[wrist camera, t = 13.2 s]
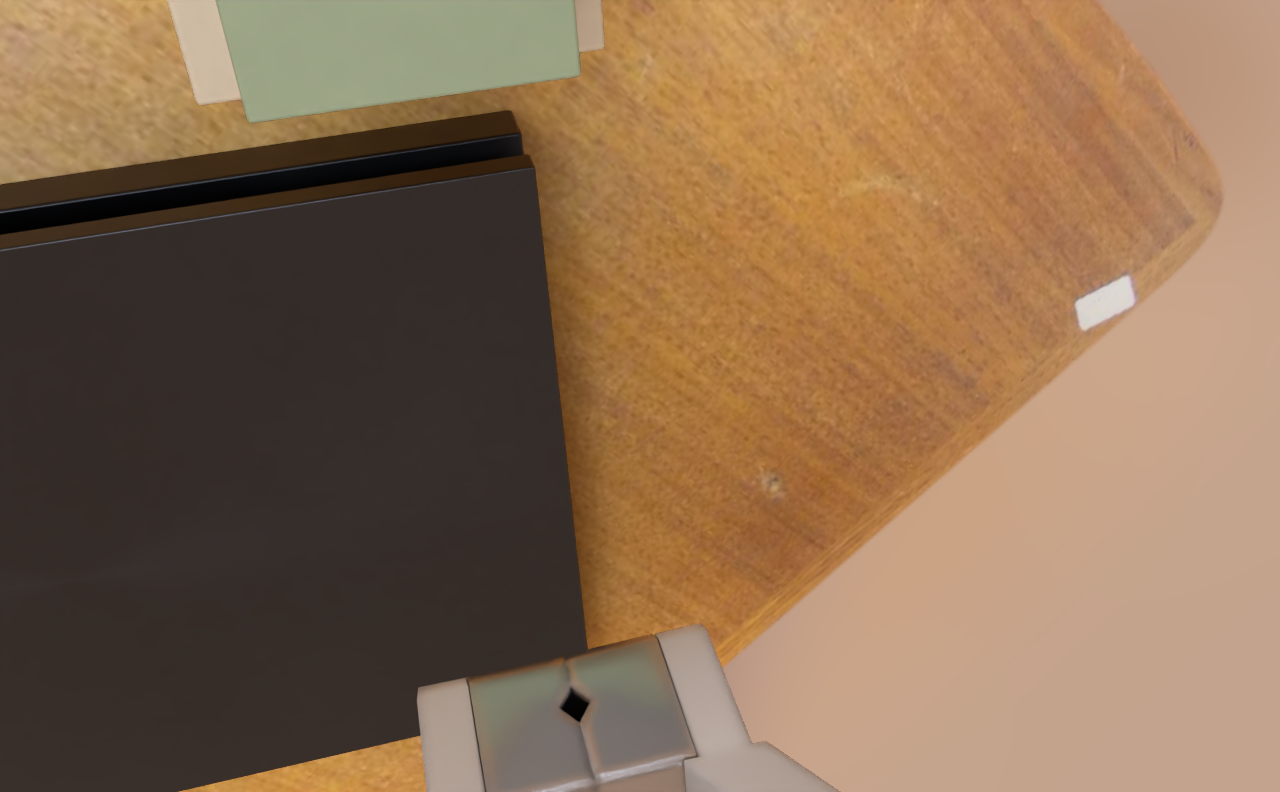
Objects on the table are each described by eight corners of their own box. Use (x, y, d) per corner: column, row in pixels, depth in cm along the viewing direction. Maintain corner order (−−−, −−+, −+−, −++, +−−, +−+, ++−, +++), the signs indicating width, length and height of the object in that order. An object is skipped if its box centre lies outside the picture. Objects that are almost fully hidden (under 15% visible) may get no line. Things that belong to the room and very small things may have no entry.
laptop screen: (-803, 354, 26) (-832, 377, 25) (529, 151, 31) (535, 166, 30) (-277, 875, 40) (-287, 900, 39) (587, 677, 45) (593, 696, 44)
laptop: (-711, 287, 28) (-768, 327, 27) (511, 109, 33) (522, 133, 32) (-258, 830, 41) (-279, 878, 40) (578, 643, 46) (588, 679, 45)
